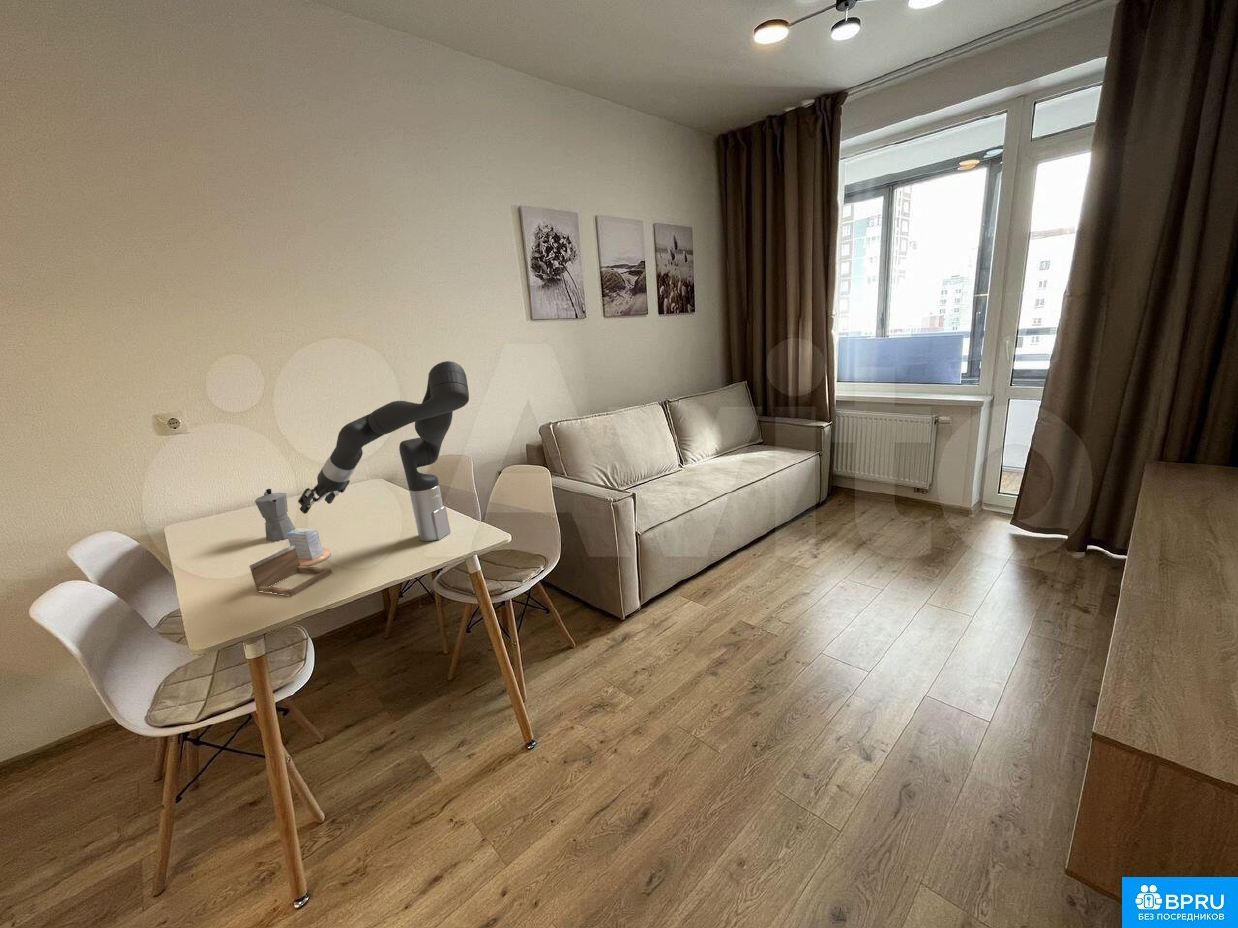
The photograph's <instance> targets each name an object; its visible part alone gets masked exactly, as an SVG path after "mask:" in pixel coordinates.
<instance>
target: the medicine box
mask: <svg viewBox="0 0 1238 928" xmlns="http://www.w3.org/2000/svg"><path fill="white" fill-rule="evenodd" d="M287 537H288V539H287V540H288V543H289V547H290V546H292V545H295V547H296V548H295V549H296V551H297V555H298V558H299V559H310V560H314V559H316V558H317V557H319V556H321V555H323V554H324V552H323V548H324V547H323V546H322V542H321V539H320V535H319V531H318V529H317V528H303V527H302V528H301V527H297V528H295V530H293V531H291V532H289V533H287Z"/></svg>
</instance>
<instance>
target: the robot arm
mask: <svg viewBox="0 0 1238 928" xmlns="http://www.w3.org/2000/svg"><path fill="white" fill-rule="evenodd" d="M467 380H468V379H467V375H466V371H465V370H464V368H463V366H461V365H460V364H459V363H457V362H454V361H451V360H448V361H442V362H438V363H437V364H435V365H434V366H433V367H432V368H431V369H430V370H429V373H428V379H427V385H426V390H425V391H426V392H425V395H424V396H423V399H422V402H421V403H417V402H411V401H408V400H407V401H406V400H396V401H395V400H394V401H391V402H388V403H386V404H385V405H382V406H381V407H379V408H376V409H375V410H373V411H372V412H371V413H369V414H366V415H364V416H362V417H360V418H357V419H355V420H353V421H351V422H349V423H346V424H345V425H344V426H343V427H341V429H340V430H339V432H338V435H337V440H336V445H335V448H334V449H333V451H332V453H331V454H330V455H329V457H328V458H327V459H326V461H325V462H324V464H323V465H322V467H321V470H320V471H319V473H318V474H317V477H316V479H317V484H316V485H315V486H314V487H313V488H312V489H311V488H309V487H307V488H305V489H304V491H303V493H302V494H301V496H300V497H299V499H298V500H297V503H299V505H300V507H299V510H300V512H301V513H302V514H304V515H305V514H306V515H307V514H308V512H309V510H310V509H311V507H312V506H313V505H314V504H315V503H319V502H320V501H322V499H324V501H325V503H327V504H329V505H330V504H332V503H333V502H334V500H335V498H336V497H338V496H339V494H342V493H344V492H345V491H346V489H347V487H348V486H349V484H350V482H351V480H350V479H351V477H352V475H353V474H354V471H355V468H356V467H357V465H358V463H360V461H361V459H362V457H363V452H364V451H363V447H364V446H367V445H368V444H370V443H372V442H374V441H375V440H377V439H379V438H381V437H383V436H385V435H388V434H391V433H393V432H395V431H397V430H399V429H401V428H403V427H406V426H408V425H409V424H413V423H414V430H415V432H416V434H417V435H418V436H419V437H415V438H411V439H406V440H402V441H401V442H400V443H399V447H398V448H399V449H398V450H399V455H400V459H401V463H402V466H403V469H404V475H405V478H406V482H407V486H408V490H409V491H408V492H409V496H410V502H411V505H412V511H413V515H414V519H415V521H414V522H415V524H416V530H417V534H418V539H419V540H420V541H422V542H432V541H439V540H441V539H443V538H444V537H446V536H447V535H449V534H450V533H451V527H450V522H449V518H448V512H447V507H446V505H444V503H443V498H442V494H441V488H440V482H439V478H438V477H437V475H435V474H430V473H422V472H419V471H418V468H422V467H425V466H430V465H433V464H434V463H436V462H437V461H438V458H439V456H440V452H441V448H442V444H443V441H444V439H445V438H446V437H445V436H446V435H447V433H448V431H449V429H450V427H451V425H452V421H453V412H455V411H457V410H459V409H461V408H464V407H465V406H466V405H467V404H468V403H469V401H470V392H469V386H468V381H467ZM316 495H317V496H318V497H316Z"/></svg>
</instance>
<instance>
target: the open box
mask: <svg viewBox="0 0 1238 928" xmlns="http://www.w3.org/2000/svg"><path fill="white" fill-rule="evenodd" d="M295 548H296V547H295V545H292V546H290V545H289V546H288V547H286V548H284V549H281V550H279V551H278V552H276V553H274V554H271V555H269V556H267V557H265V558H262V559H261V560H258V561H256V562H254V563H253V564H250V565H249V566H248V568H249V569H250V571H251V576H252V578H253V579H252V580H253V581H254V586H255V588H256V592H257V591H263V592H272V593H277V594H284V595H289V596H288V597H293V595H294V596H295V595H297V594H299V593H301V592H302V591H304V590H306V589H308V588H309V587H311V586H313V585H315V584H316V583H318V582H319V581H322V580H323V579H325V578H326V577H328V576H330V575H332V574H333V571H332V568H329V567H320V566H319V567H318V566H300V562H299V558H298V555H297V551H296V549H295ZM298 573H306V574H307V573H309V574H316V575H314V576H312V577H311V578H309V579H307V580H305V581H304V582H301V583H300V584H298V585H296V586H295V587H292V588H286V587H285V588H284V587H283V588H282V587H275V586H274V585H273V584H275V583H277V582H279V581H281V580H282V581H284V580H286V579H288V578H290V577H291V576H294V575H295V574H298ZM289 576H290V577H289ZM285 578H286V579H285ZM283 579H284V580H283ZM282 581H281V582H282ZM279 583H280V582H279ZM277 584H278V583H277ZM271 585H273V586H271ZM275 585H276V584H275ZM269 586H271V587H269ZM300 591H301V592H300ZM298 592H299V593H298ZM296 593H297V594H296ZM284 595H283V596H284Z"/></svg>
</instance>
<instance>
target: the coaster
mask: <svg viewBox="0 0 1238 928" xmlns="http://www.w3.org/2000/svg"><path fill="white" fill-rule="evenodd" d="M322 548H323V552H324V554H323V555H321V556H319V557H317V558H316V559H314V560H310V559H299V562H300V566H309V567H313V566H315V565H317V564H319V563H322V562H324V561H326V560H327V559H329V558H330V557H331V555H332V552H331V549H329V548H327V547H326V548H325V547H322Z"/></svg>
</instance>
